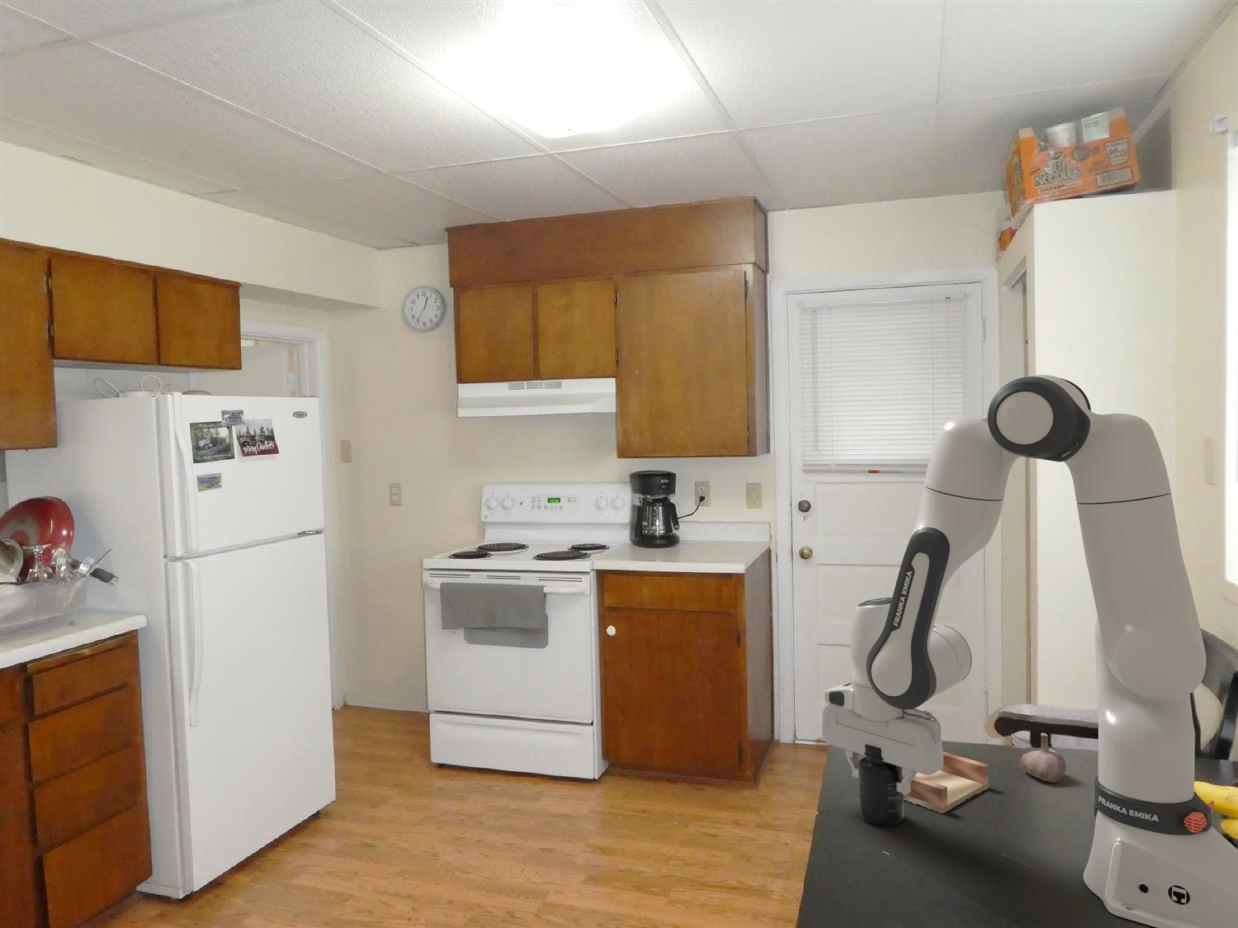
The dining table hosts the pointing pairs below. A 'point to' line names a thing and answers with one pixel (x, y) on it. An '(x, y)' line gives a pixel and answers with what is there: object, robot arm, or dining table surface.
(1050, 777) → the garlic bulb
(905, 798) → the open-sided tray
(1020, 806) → the dining table surface
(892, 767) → the supplement bottle
